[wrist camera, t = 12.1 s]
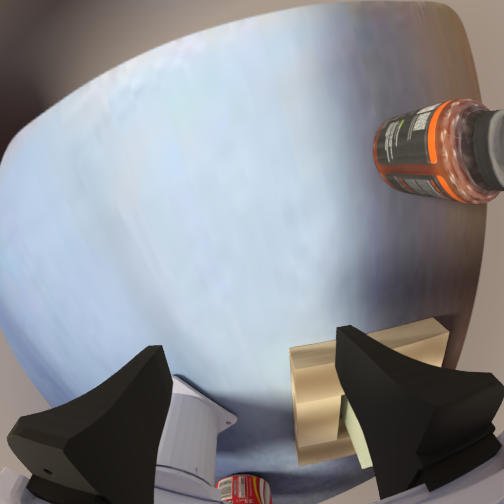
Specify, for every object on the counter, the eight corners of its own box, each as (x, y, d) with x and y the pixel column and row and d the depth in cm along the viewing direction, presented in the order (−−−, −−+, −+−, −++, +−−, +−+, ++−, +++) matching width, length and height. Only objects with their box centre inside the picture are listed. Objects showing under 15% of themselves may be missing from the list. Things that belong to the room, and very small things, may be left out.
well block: (408, 416, 27) (419, 432, 24) (294, 445, 27) (298, 466, 24) (432, 317, 23) (449, 331, 21) (289, 348, 23) (295, 369, 20)
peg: (379, 399, 26) (409, 453, 18) (339, 409, 26) (362, 468, 18) (385, 367, 25) (421, 422, 17) (342, 377, 25) (370, 440, 17)
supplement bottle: (432, 193, 20) (539, 216, 10) (370, 191, 20) (476, 215, 9) (429, 121, 19) (535, 106, 8) (367, 112, 19) (468, 75, 8)
